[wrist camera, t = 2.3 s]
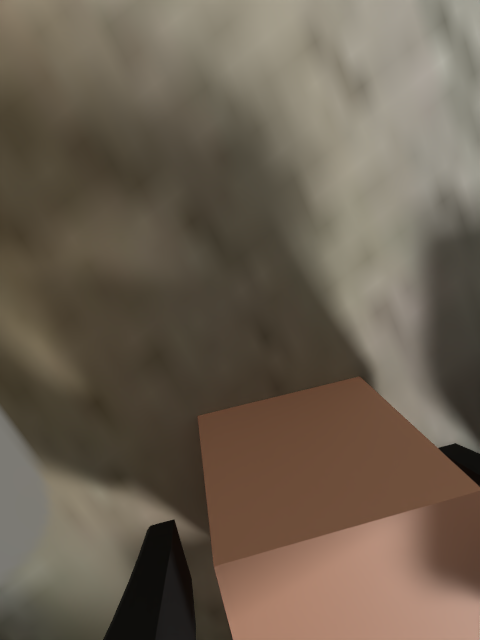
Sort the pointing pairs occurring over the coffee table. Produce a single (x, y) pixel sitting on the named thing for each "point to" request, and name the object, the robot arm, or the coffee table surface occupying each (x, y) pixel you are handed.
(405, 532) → the terracotta block
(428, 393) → the coffee table surface
